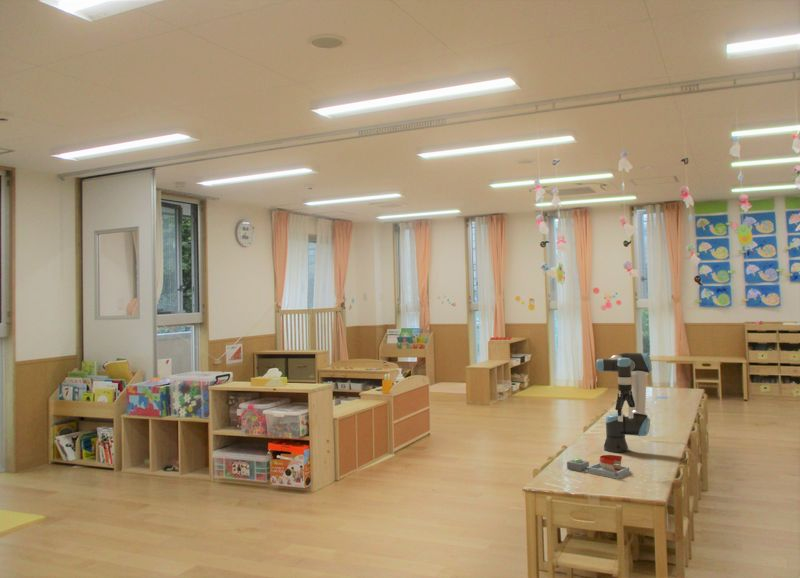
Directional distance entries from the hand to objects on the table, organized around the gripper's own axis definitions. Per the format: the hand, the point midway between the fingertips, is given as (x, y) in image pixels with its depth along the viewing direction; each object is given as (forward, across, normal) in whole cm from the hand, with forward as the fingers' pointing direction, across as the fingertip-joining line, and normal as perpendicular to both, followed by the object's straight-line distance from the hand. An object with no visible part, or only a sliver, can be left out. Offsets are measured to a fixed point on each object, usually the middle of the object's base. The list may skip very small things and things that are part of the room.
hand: (625, 419), depth 375 cm
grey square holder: (+27, +26, -17) cm, 41 cm away
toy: (+26, +23, +1) cm, 35 cm away
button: (+26, +26, -17) cm, 41 cm away
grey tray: (+27, +23, 0) cm, 35 cm away
